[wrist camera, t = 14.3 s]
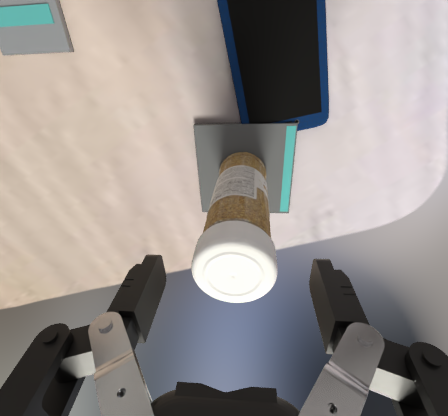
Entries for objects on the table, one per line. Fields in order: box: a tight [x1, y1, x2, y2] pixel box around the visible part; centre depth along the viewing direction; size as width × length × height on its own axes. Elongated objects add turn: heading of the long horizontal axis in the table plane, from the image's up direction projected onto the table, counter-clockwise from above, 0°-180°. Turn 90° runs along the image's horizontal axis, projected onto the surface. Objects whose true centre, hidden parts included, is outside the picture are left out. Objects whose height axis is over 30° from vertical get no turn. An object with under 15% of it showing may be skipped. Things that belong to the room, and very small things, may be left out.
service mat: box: [194, 123, 298, 213], centre depth 25 cm, size 9×9×1 cm
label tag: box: [0, 0, 74, 55], centre depth 20 cm, size 6×5×1 cm
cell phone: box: [217, 0, 329, 131], centre depth 20 cm, size 7×14×1 cm, turn 14°
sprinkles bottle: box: [191, 152, 277, 303], centre depth 19 cm, size 5×5×13 cm
